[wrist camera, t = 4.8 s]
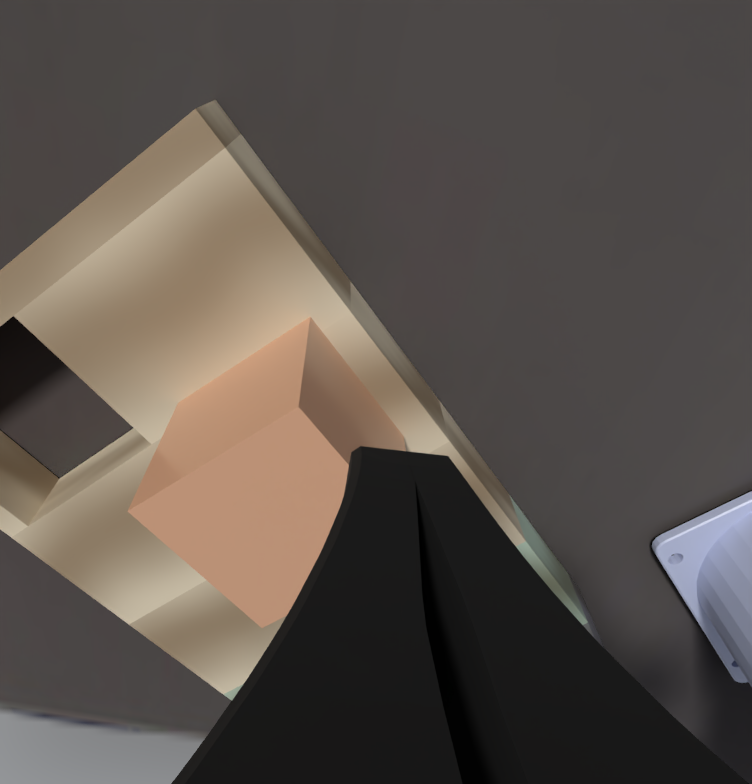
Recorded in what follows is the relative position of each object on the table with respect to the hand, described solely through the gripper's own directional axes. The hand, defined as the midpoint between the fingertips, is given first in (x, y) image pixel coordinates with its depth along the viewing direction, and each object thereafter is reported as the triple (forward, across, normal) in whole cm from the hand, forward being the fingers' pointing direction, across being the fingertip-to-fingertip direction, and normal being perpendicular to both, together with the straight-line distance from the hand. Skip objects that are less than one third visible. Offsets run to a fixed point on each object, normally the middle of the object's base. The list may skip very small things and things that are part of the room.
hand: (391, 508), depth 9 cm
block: (+7, +2, +3) cm, 8 cm away
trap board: (+9, +2, +7) cm, 12 cm away
